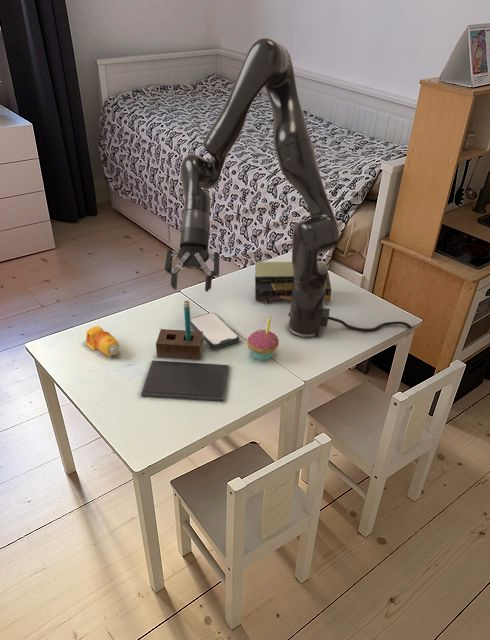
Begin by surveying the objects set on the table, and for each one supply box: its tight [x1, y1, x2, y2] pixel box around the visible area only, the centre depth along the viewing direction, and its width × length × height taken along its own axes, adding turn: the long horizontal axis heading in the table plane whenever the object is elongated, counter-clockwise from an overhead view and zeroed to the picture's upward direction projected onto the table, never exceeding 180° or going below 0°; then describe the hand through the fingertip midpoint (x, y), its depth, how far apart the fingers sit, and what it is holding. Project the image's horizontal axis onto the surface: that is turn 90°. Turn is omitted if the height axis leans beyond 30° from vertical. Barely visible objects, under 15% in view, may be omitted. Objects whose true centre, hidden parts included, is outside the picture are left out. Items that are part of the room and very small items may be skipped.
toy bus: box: [254, 261, 332, 304], centre depth 168 cm, size 10×23×10 cm, turn 89°
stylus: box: [183, 300, 192, 341], centre depth 142 cm, size 2×2×16 cm
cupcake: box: [246, 315, 280, 361], centre depth 143 cm, size 9×8×12 cm
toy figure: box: [85, 325, 120, 357], centre depth 145 cm, size 5×6×12 cm
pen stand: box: [155, 328, 204, 361], centre depth 146 cm, size 12×7×4 cm, turn 87°
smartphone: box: [190, 312, 240, 350], centre depth 154 cm, size 9×2×16 cm
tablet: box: [140, 360, 229, 402], centre depth 137 cm, size 20×14×1 cm
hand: (190, 290), depth 143 cm, fingers open, 8 cm apart
